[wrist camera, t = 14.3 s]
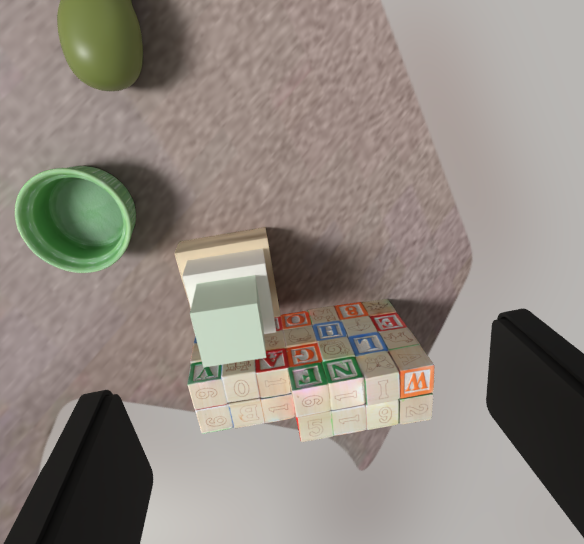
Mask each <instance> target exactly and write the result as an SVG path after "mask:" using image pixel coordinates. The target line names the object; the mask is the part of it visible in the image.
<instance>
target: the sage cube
mask: <svg viewBox="0 0 584 544" xmlns="http://www.w3.org/2000/svg"><path fill="white" fill-rule="evenodd" d="M190 316H191V320H192V324H193V328H194V332H195V336H196V340H197V344H198V348H199V352H200V356H201V360H202V364H203V368H204V367H210V366H217V365H223V364H229V363H236V362H242V361H248V360H255V359H261V358H266V350H265V338H264V327H263V320H262V313H261V307H260V301H259V295H258V289H257V283H256V277H255V275H253V276H246V277H239V278H232V279H225V280H218V281H212V282H205V283H198V284H197V285H196V289H195V293H194V298H193V302H192V306H191V311H190Z"/></svg>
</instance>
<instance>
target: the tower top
mask: <svg viewBox="0 0 584 544" xmlns="http://www.w3.org/2000/svg"><path fill="white" fill-rule="evenodd" d="M253 275H255V277H256V283H257V289H258V295H259V301H260V307H261V313H262V320H263V327H264V334H269V333H275V332H276V327H275V319H274V312H273V306H272V300H271V294H270V288H269V282H268V276H267V270H266V264H265V258H264V252H263V248H262V249H256V250H250V251H243V252H237V253H230V254H224V255H218V256H211V257H205V258H198V259H192V260H187V263H186V266H185V269H184V272H183V276H182V278H183V281H184V285H185V289H186V293H187V296H188V300H189V304H190V308H191V306H192V302H193V298H194V293H195V289H196V285H197V284H198V283H205V282H212V281H218V280H225V279H232V278H239V277H246V276H253Z"/></svg>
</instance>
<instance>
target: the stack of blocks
mask: <svg viewBox="0 0 584 544" xmlns="http://www.w3.org/2000/svg"><path fill="white" fill-rule="evenodd" d="M274 319H275V327H276V332H275V333H269V334H264V338H265V350H266V358H261V359H255V360H248V361H242V362H236V363H229V364H223V365H217V366H210V367H204V368H203V364H202V360H201V356H200V352H199V348H198V344H197V340H196V336H195V341H194V345H193V350H192V356H191V365H190V372H189V378H188V388H189V391H190V395H191V398H192V402H193V406H194V409H195V410H196V415H197V418H198V422H199V425H200V429H201V432H202V434H204V433H209V432H215V431H220V430H226V429H231V428H240V427H246V426H252V425H257V424H263V423H270V422H275V421H280V420H285V419H291V418H293V417H295V416H296V420H297V425H298V430H299V435H300V440H301V442H305V441H310V440H316V439H322V438H327V437H332V436H334V435H342V434H347V433H352V432H358V431H363V430H366V429H367V430H370V429H375V428H381V427H387V426H392V425H397V424H398V423H399V424H407V423H412V422H418V421H424V420H429V419H431V418H432V404H433V393H432V392H433V388H434V364H433V362H432V361H431V360H430V358H429V357H428V356H427V354H426V353H425V351H424V350H423V349H422V347H421V345H420V343H419V342H418V340H416V338H415V336H414V335H413V333H412V332H411V331H410V329H409V328H408V327H407V326H406V325H405V323H404V322H403V320H402V319H401V318H400V316H399V315H398V314H397V313H396V310H395V309H394V307H393V306H392V305H391V303H390V302H389V301H388V299H383V300H376V301H369V302H362V303H361V302H358V303H351V304H344V305H337V306H330V307H323V308H316V309H310V310H308V311H302V312H297V313H290V314H283V315H281V316H280V317H275V318H274Z"/></svg>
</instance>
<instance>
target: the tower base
mask: <svg viewBox="0 0 584 544" xmlns="http://www.w3.org/2000/svg"><path fill="white" fill-rule="evenodd" d="M262 248H263V252H264V258H265V264H266V270H267V276H268V282H269V288H270V294H271V300H272V306H273V312H274V318H275V317H280V316H281V315H280V309H279V303H278V297H277V292H276V286H275V280H274V274H273V269H272V263H271V257H270V251H269V245H268V240H267V234H266V228H265V227H264V228H258V229H252V230H246V231H240V232H234V233H228V234H222V235H216V236H210V237H204V238H198V239H192V240H186V241H180V242H179V243H178V246H177V249H176V251H175V257H176V260H177V264H178V267H179V271H180V274H181V278H182V276H183V272H184V269H185V266H186V263H187V260H192V259H198V258H205V257H211V256H218V255H224V254H230V253H237V252H243V251H250V250H256V249H262ZM182 281H183V278H182ZM183 285H184V281H183ZM184 289H185V285H184ZM185 292H186V289H185ZM186 296H187V293H186ZM187 299H188V296H187ZM188 303H189V300H188ZM189 306H190V304H189ZM190 310H191V308H190Z"/></svg>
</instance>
